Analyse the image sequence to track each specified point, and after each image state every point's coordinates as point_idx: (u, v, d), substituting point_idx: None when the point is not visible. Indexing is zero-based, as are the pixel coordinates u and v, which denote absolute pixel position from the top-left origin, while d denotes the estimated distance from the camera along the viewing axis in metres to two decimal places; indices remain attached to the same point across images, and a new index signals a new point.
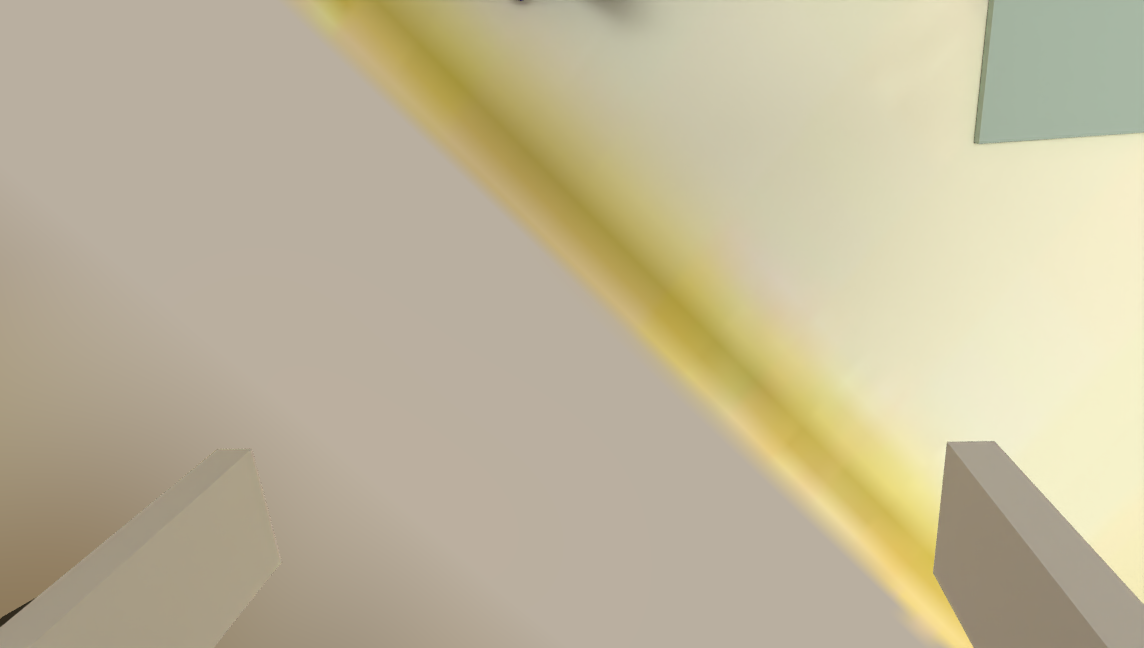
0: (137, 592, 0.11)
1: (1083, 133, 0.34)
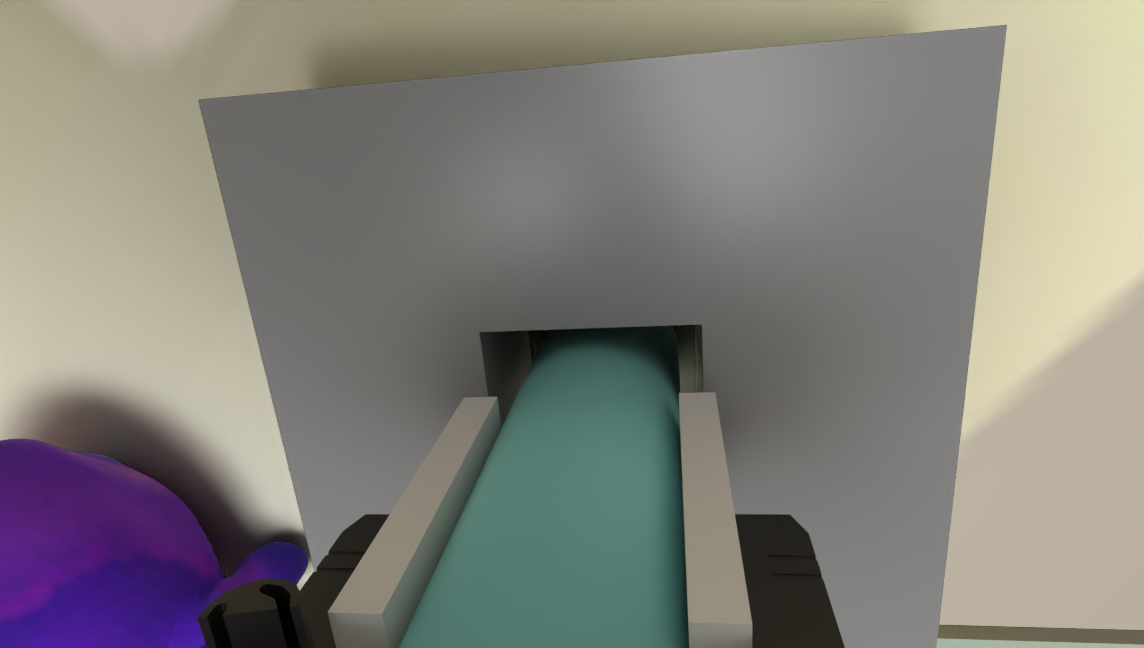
0: (456, 510, 0.12)
1: None
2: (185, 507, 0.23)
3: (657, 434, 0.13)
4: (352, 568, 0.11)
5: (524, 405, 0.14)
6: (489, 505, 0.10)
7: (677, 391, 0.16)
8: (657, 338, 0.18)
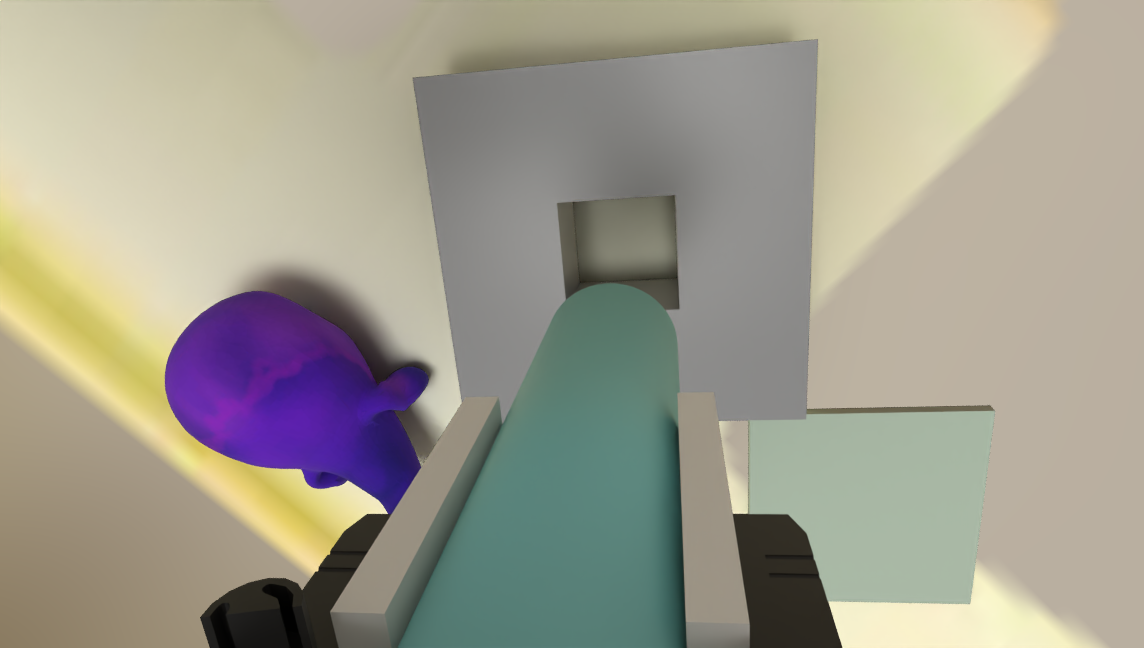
0: (459, 510, 0.12)
1: (836, 599, 0.39)
2: None
3: (657, 426, 0.13)
4: (354, 568, 0.11)
5: (526, 398, 0.14)
6: (493, 494, 0.11)
7: (676, 386, 0.17)
8: (657, 334, 0.18)
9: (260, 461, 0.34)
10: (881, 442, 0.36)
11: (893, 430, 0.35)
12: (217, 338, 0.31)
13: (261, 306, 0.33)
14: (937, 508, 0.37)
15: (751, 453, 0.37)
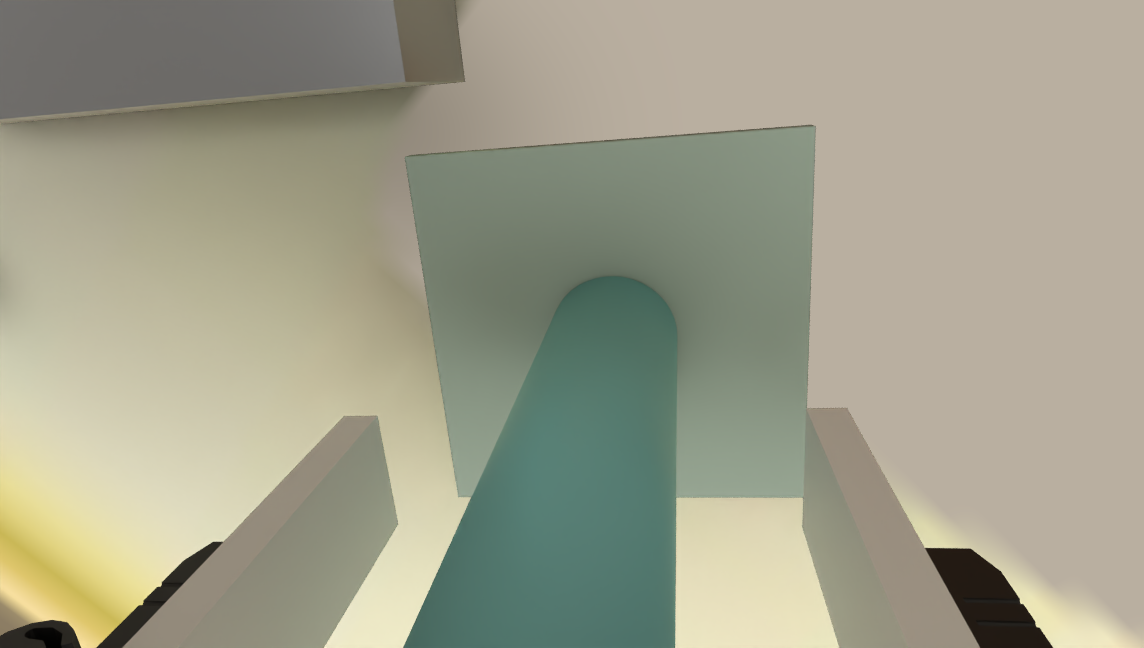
0: (304, 539, 0.12)
1: None
2: None
3: (650, 424, 0.14)
4: None
5: (528, 397, 0.15)
6: (495, 494, 0.11)
7: (673, 380, 0.17)
8: (655, 328, 0.19)
9: None
10: (628, 199, 0.20)
11: (646, 176, 0.20)
12: None
13: None
14: (734, 323, 0.21)
15: (419, 231, 0.22)
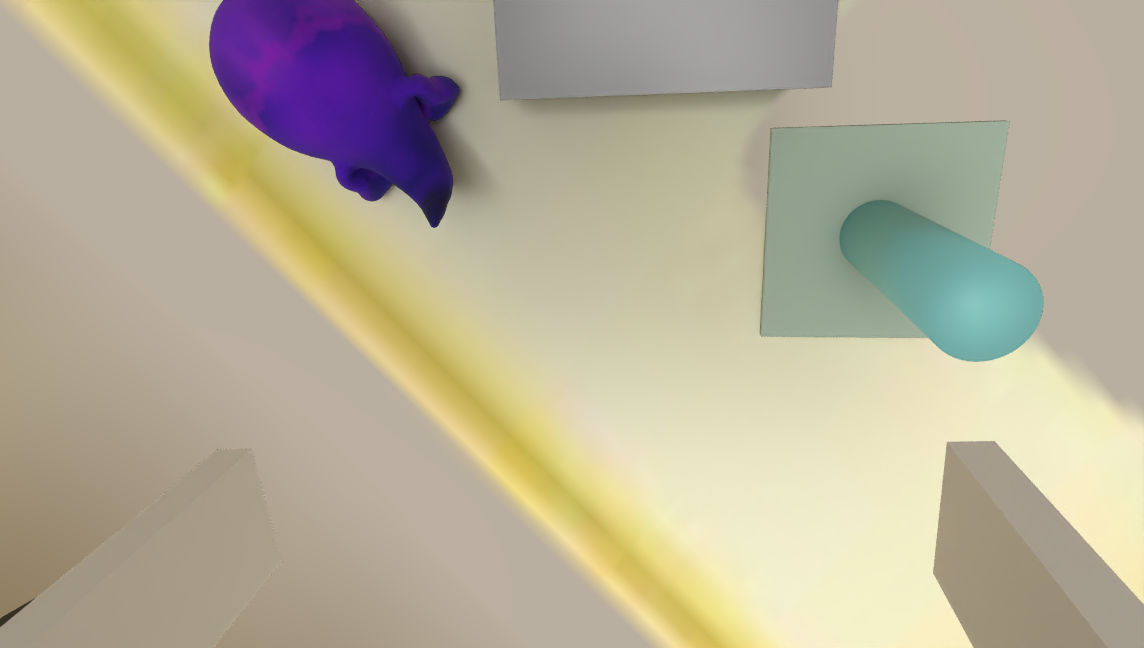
0: (138, 592, 0.11)
1: (846, 334, 0.40)
2: None
3: None
4: None
5: (898, 231, 0.31)
6: (930, 245, 0.28)
7: None
8: None
9: (297, 129, 0.35)
10: (898, 157, 0.37)
11: (911, 144, 0.37)
12: None
13: None
14: None
15: (771, 171, 0.38)
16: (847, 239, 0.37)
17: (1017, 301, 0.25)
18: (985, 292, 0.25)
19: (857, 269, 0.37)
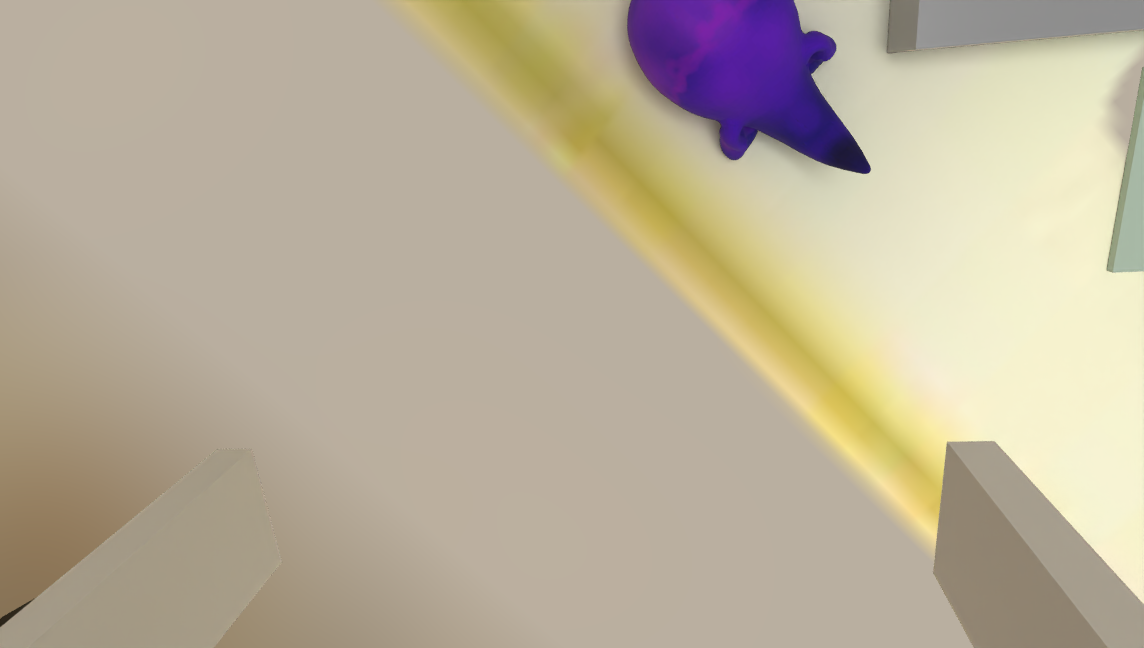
0: (137, 592, 0.11)
1: None
2: None
3: None
4: None
5: None
6: None
7: None
8: None
9: (721, 88, 0.36)
10: None
11: None
12: None
13: None
14: None
15: (1143, 109, 0.39)
16: None
17: None
18: None
19: None
